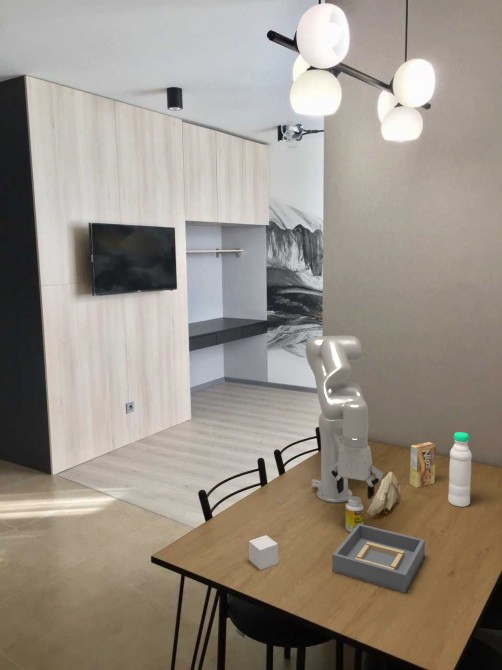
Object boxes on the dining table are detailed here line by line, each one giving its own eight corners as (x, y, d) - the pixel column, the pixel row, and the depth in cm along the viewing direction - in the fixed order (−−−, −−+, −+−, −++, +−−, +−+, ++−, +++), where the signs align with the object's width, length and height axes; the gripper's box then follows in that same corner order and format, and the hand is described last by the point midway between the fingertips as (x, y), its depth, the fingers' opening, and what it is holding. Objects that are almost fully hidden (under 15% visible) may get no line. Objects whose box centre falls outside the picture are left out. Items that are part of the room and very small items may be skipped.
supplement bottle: (354, 535, 170) (354, 504, 168) (341, 528, 174) (341, 498, 173) (367, 530, 173) (367, 499, 171) (354, 523, 177) (354, 493, 176)
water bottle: (444, 499, 193) (446, 430, 190) (463, 497, 194) (466, 429, 190) (453, 508, 187) (456, 437, 183) (473, 506, 187) (476, 436, 183)
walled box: (332, 571, 151) (332, 554, 150) (357, 538, 168) (358, 523, 167) (405, 593, 141) (405, 575, 140) (424, 556, 157) (424, 539, 157)
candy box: (427, 479, 210) (428, 441, 208) (435, 483, 206) (436, 444, 204) (409, 484, 206) (410, 445, 204) (417, 488, 203) (418, 448, 200)
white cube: (249, 560, 157) (248, 540, 156) (266, 554, 160) (266, 534, 160) (260, 570, 152) (260, 550, 151) (278, 563, 155) (277, 543, 154)
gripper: (324, 440, 170) (324, 493, 172) (378, 448, 161) (378, 504, 163) (333, 434, 177) (334, 485, 179) (386, 441, 168) (386, 495, 170)
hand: (355, 494), depth 171 cm, fingers open, 9 cm apart
